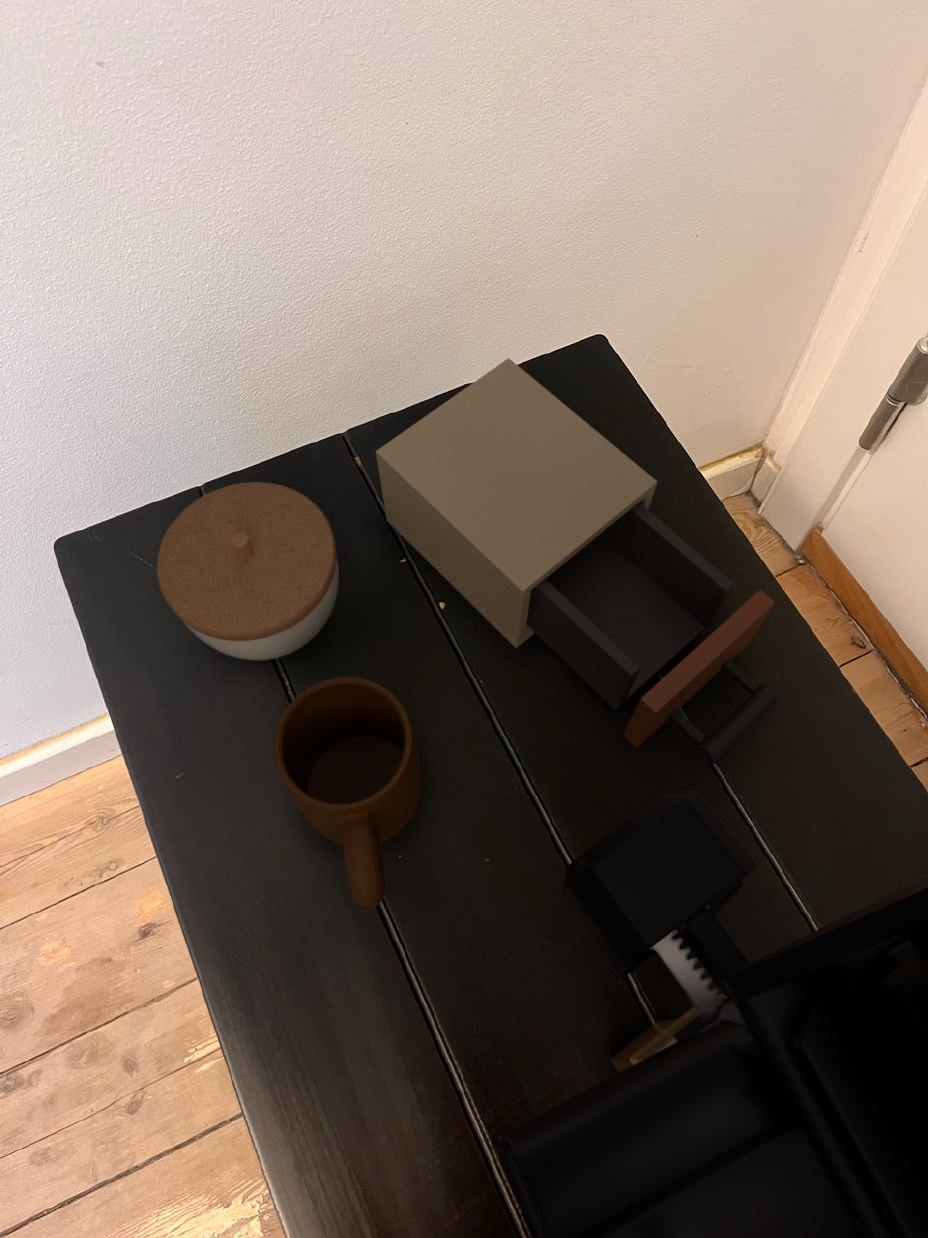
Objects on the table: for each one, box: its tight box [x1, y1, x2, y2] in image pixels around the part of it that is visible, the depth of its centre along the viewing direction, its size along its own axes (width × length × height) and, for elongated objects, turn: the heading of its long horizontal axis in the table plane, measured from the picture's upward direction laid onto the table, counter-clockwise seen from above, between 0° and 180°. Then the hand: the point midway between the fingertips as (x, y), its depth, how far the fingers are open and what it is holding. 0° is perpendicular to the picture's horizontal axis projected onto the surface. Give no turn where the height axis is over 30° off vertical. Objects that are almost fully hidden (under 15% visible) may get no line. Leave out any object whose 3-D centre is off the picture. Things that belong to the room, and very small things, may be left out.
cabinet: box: [375, 357, 658, 649], centre depth 58 cm, size 14×12×8 cm
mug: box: [272, 676, 423, 909], centre depth 49 cm, size 12×8×9 cm, turn 11°
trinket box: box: [156, 481, 340, 661], centre depth 55 cm, size 11×11×9 cm
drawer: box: [527, 503, 780, 765], centre depth 54 cm, size 16×10×6 cm, turn 42°
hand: (725, 1056), depth 37 cm, fingers open, 9 cm apart
